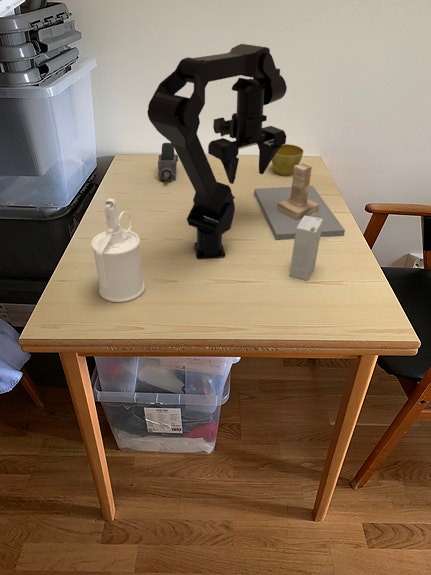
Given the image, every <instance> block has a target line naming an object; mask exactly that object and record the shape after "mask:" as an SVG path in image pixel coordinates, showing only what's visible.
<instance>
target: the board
mask: <svg viewBox="0 0 431 575" xmlns="http://www.w3.org/2000/svg"><path fill="white" fill-rule="evenodd" d="M253 190H254V192H253V194H254V196H255V198H257V199H256V201H257V200H258V201H257V203H258V204H259V207H260V209H261V211H262V214H263V215H264V218H265V220H266V222H267V224H268V225H269V228H270V230H271V232H272V234H273V236H274V239H275V240H276V241H279V240H293V239H294V240H295V234H296V228H297V226H298V225H299V223H300V222H301V220H302V218H301V219H298V220H295V219H293V218H291V217H289V216H287V215H285V214H283V213H282V212H280V211H278V210H277V204H278V203H279V202H282V201H284V200H287V199H290V198H291V190H292V186H283V187H281V186H278V187H259V188H254V189H253ZM307 199H309V200H311V201H313V202H315V203H317V204H319V209H318V212H315V213H313V214H311V215H308V216H310V217H315V218H321V219H323V224H322V230H321V235H320V238H326V237H328V238H329V237H342V236H345V232H346V230H345V228H344V227H343V225H342V223H340V221H339V220H338V219H337V217H336V216H335V215H334V213H333V212H332V210H331V209H330V208H329V206H328V204H326V202H325V200H324V199H323V198H322V196H321V195H320V193H319V192H318V191H317V189H316V188H315V186H314V185H309V190H308V198H307Z"/></svg>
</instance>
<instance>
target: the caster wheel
mask: <svg viewBox="0 0 431 575" xmlns="http://www.w3.org/2000/svg"><path fill="white" fill-rule="evenodd" d="M157 160H158V161H157V165H158V166H157V168H158V174H157V175H158V178H159V181H161V180H166V182H169V181H168V180H171V181H170V182H174V181H176V179H177V165H178V164H177V163H178V161H179V157H178V155H177V154H175V148H174V146H173V144H172V143H171V142H164V143H162V144H161V154H159V155H158V159H157ZM172 180H173V181H172Z"/></svg>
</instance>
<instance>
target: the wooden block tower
mask: <svg viewBox="0 0 431 575" xmlns="http://www.w3.org/2000/svg"><path fill="white" fill-rule="evenodd" d="M311 174H312V166H310V165H308V164H305V163H299V165H296V166H294V172H293V173H292V183H291V187H292V190H291V198H290V199H287V200H284V201H282V202H279V203H278V204H277V210H278V211H280V212H282V213H283V214H285V215H287V216H289V217H291V218H293V219H295V220H298V219H301V218H303V217H304V216H308V215H311V214H313V213H315V212H318V209H319V204H317V203H315V202H313V201H311V200H309V199H307V198H308V190H309V186H310V182H311V176H312V175H311Z"/></svg>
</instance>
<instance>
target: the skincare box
mask: <svg viewBox="0 0 431 575" xmlns="http://www.w3.org/2000/svg"><path fill="white" fill-rule="evenodd" d="M322 224H323V219H321V218H315V217H310V216H304V217H303V218H302V220H301V222H300V223H299V225H298V226H297V228H296V234H295V239H294V241H293V246H292V248H293V249H292V256H291V262H290V267H289V268H290V269H289V276H290V277H293V278H297V279H300V280H303V281H304V280H305V281H308V280H309V278H310V277H311V274H312V272H313V270H314V269H315V267H316V262H317V258H318V257H317V256H318V253H319V252H318V251H319V245H320V240H321V237H320V235H321V230H322Z"/></svg>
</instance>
